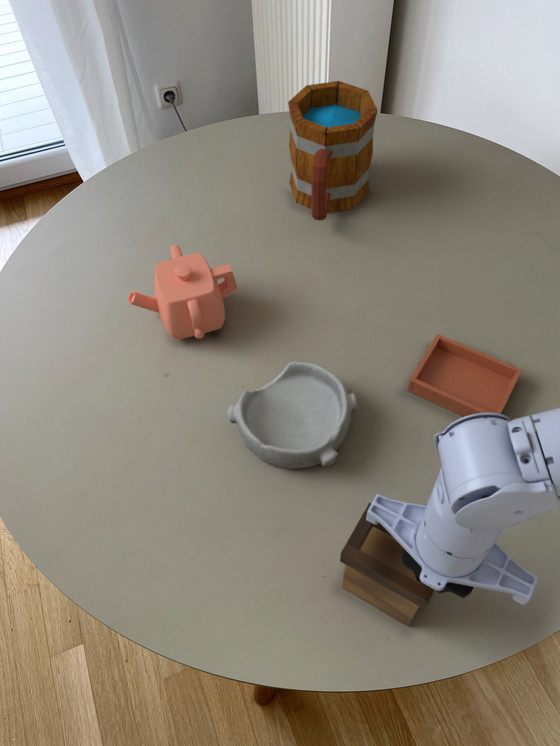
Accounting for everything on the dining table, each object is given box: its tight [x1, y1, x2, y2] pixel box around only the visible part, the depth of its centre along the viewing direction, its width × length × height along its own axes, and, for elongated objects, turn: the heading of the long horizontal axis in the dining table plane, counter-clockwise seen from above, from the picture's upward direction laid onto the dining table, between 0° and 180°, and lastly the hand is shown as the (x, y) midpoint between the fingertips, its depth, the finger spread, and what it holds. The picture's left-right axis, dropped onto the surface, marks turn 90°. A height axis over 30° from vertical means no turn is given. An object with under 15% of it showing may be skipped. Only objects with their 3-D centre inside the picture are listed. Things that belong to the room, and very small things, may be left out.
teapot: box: [127, 244, 239, 340], centre depth 90 cm, size 12×12×10 cm
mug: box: [287, 80, 378, 221], centre depth 102 cm, size 20×14×15 cm
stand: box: [341, 527, 422, 627], centre depth 68 cm, size 8×5×8 cm, turn 59°
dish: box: [227, 361, 358, 469], centre depth 81 cm, size 14×14×5 cm
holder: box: [407, 333, 523, 417], centre depth 85 cm, size 12×9×2 cm
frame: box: [339, 502, 435, 610], centre depth 63 cm, size 9×6×2 cm, turn 59°
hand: (432, 578), depth 62 cm, fingers closed on frame, 1 cm apart
